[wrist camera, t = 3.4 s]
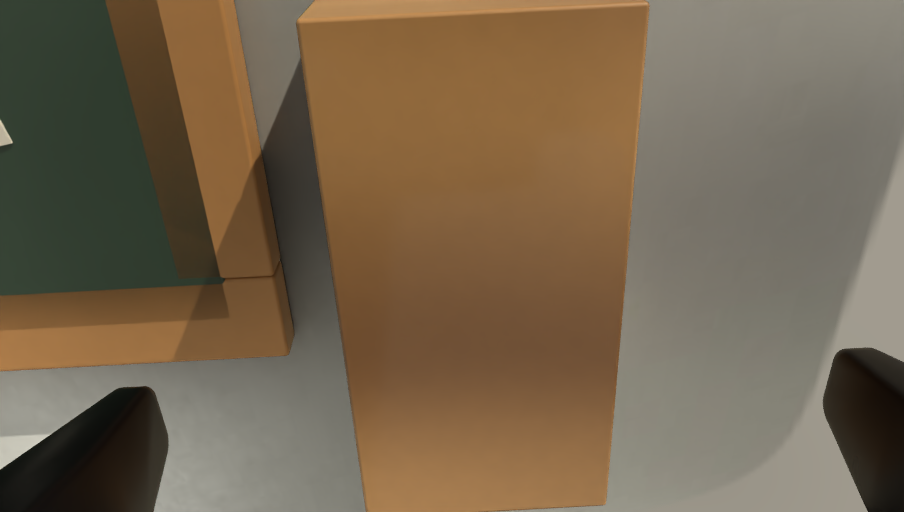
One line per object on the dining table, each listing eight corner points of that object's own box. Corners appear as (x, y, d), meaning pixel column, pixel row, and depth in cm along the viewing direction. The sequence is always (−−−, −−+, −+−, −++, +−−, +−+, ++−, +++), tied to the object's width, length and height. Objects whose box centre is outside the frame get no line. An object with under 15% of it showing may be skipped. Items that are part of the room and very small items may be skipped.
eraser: (331, -22, 12) (294, 19, 9) (586, -34, 12) (651, 1, 9) (378, 383, 17) (366, 519, 13) (568, 373, 17) (606, 506, 13)
